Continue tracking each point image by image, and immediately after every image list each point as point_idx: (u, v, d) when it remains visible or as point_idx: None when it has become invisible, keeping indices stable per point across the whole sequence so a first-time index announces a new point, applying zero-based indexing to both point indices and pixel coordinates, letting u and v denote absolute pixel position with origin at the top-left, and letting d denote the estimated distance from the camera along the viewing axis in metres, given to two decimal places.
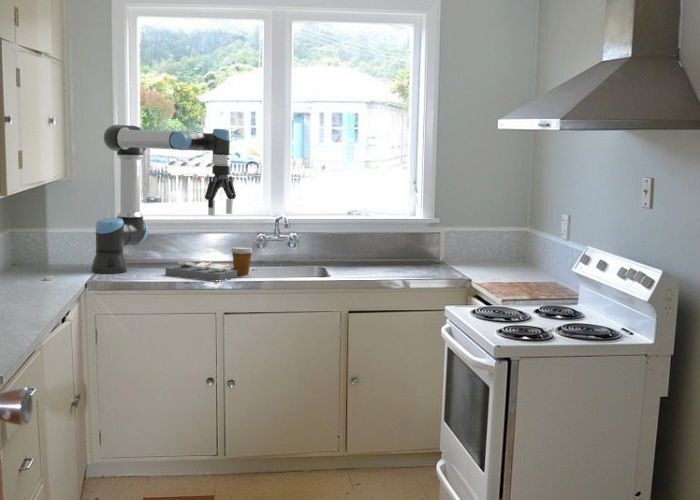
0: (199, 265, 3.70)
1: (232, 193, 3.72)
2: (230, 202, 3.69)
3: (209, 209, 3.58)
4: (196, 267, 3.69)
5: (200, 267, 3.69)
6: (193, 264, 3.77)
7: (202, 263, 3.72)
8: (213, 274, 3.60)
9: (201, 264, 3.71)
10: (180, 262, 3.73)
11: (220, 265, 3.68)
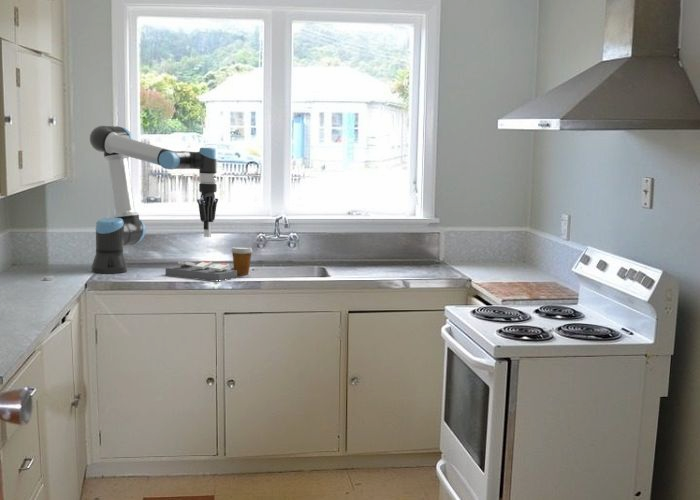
0: (199, 265, 3.70)
1: (212, 216, 3.75)
2: None
3: (204, 231, 3.72)
4: (196, 267, 3.69)
5: (200, 267, 3.69)
6: (193, 264, 3.77)
7: (202, 263, 3.72)
8: (213, 274, 3.60)
9: (201, 264, 3.71)
10: (180, 262, 3.73)
11: (220, 265, 3.68)
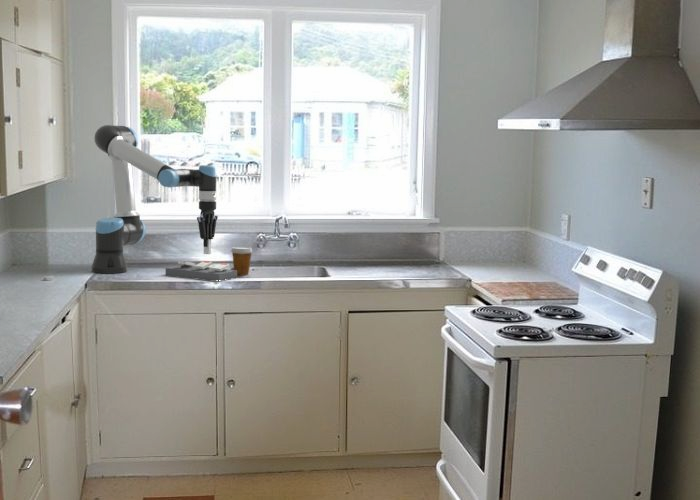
0: (199, 265, 3.70)
1: None
2: None
3: (204, 248, 3.73)
4: (196, 267, 3.69)
5: (200, 267, 3.69)
6: (193, 264, 3.77)
7: (202, 263, 3.72)
8: (213, 274, 3.60)
9: (201, 264, 3.71)
10: (180, 262, 3.73)
11: (220, 265, 3.68)
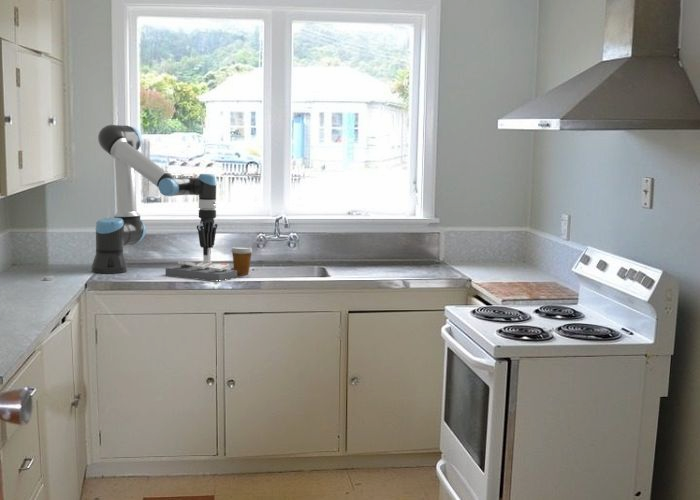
0: (199, 265, 3.70)
1: None
2: None
3: (204, 256, 3.73)
4: (196, 267, 3.69)
5: (200, 267, 3.69)
6: (193, 264, 3.77)
7: (202, 263, 3.72)
8: (213, 274, 3.60)
9: (201, 264, 3.71)
10: (180, 262, 3.73)
11: (220, 265, 3.68)
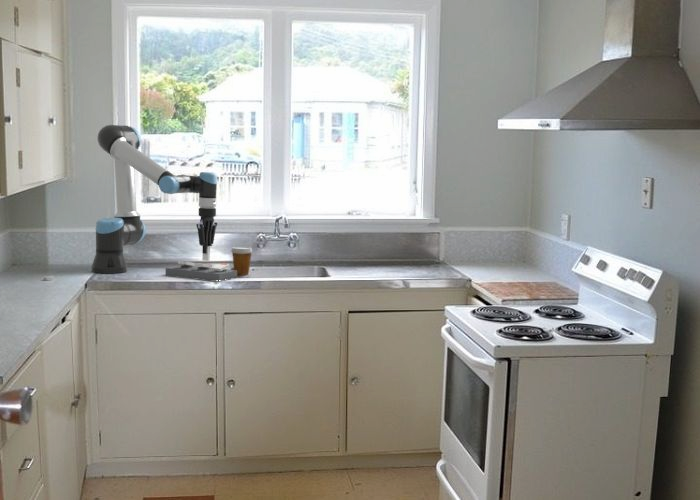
0: (199, 263, 3.70)
1: None
2: None
3: (203, 255, 3.73)
4: (196, 264, 3.69)
5: (200, 264, 3.68)
6: (193, 264, 3.77)
7: None
8: (213, 274, 3.60)
9: None
10: (180, 262, 3.73)
11: (220, 265, 3.68)
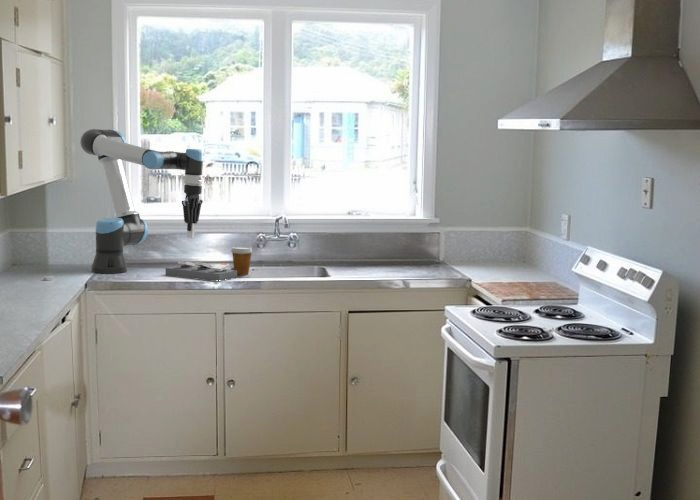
0: None
1: None
2: None
3: (188, 232, 3.71)
4: (196, 263, 3.69)
5: (200, 263, 3.69)
6: (193, 264, 3.77)
7: None
8: (213, 274, 3.60)
9: None
10: (180, 262, 3.73)
11: (220, 265, 3.68)
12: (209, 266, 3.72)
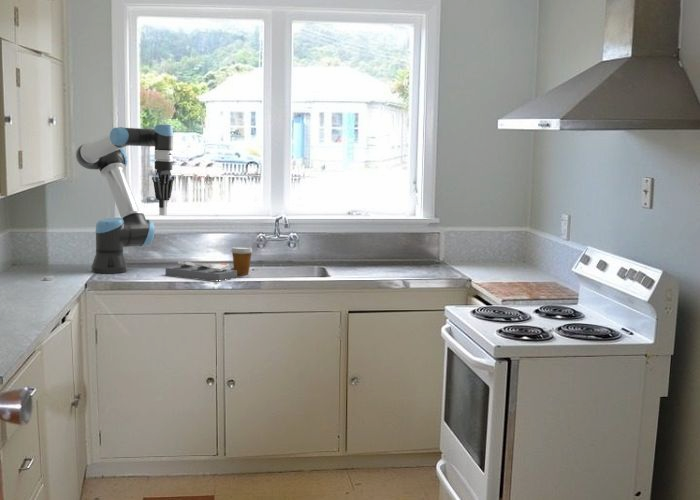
0: (199, 263, 3.70)
1: None
2: None
3: (160, 209, 3.66)
4: (196, 263, 3.69)
5: (200, 263, 3.68)
6: (193, 264, 3.77)
7: None
8: (213, 274, 3.60)
9: None
10: (180, 262, 3.73)
11: (220, 265, 3.68)
12: (209, 266, 3.72)
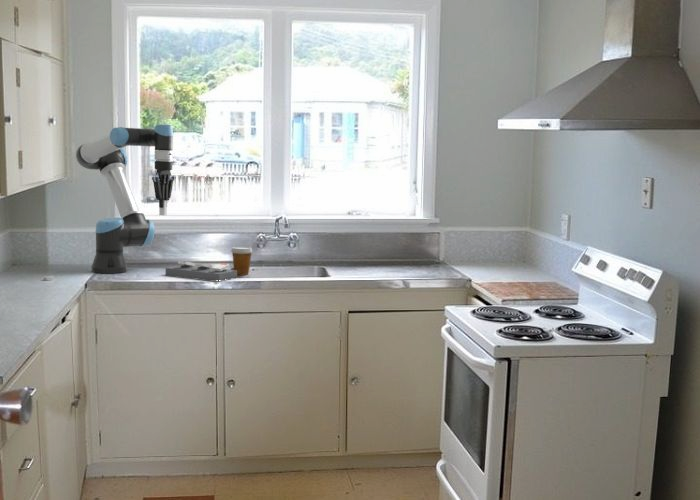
0: (199, 263, 3.70)
1: None
2: None
3: (160, 209, 3.66)
4: (196, 264, 3.69)
5: (200, 264, 3.68)
6: (193, 264, 3.77)
7: None
8: (213, 274, 3.60)
9: None
10: (180, 262, 3.73)
11: (220, 265, 3.68)
12: (209, 266, 3.72)
